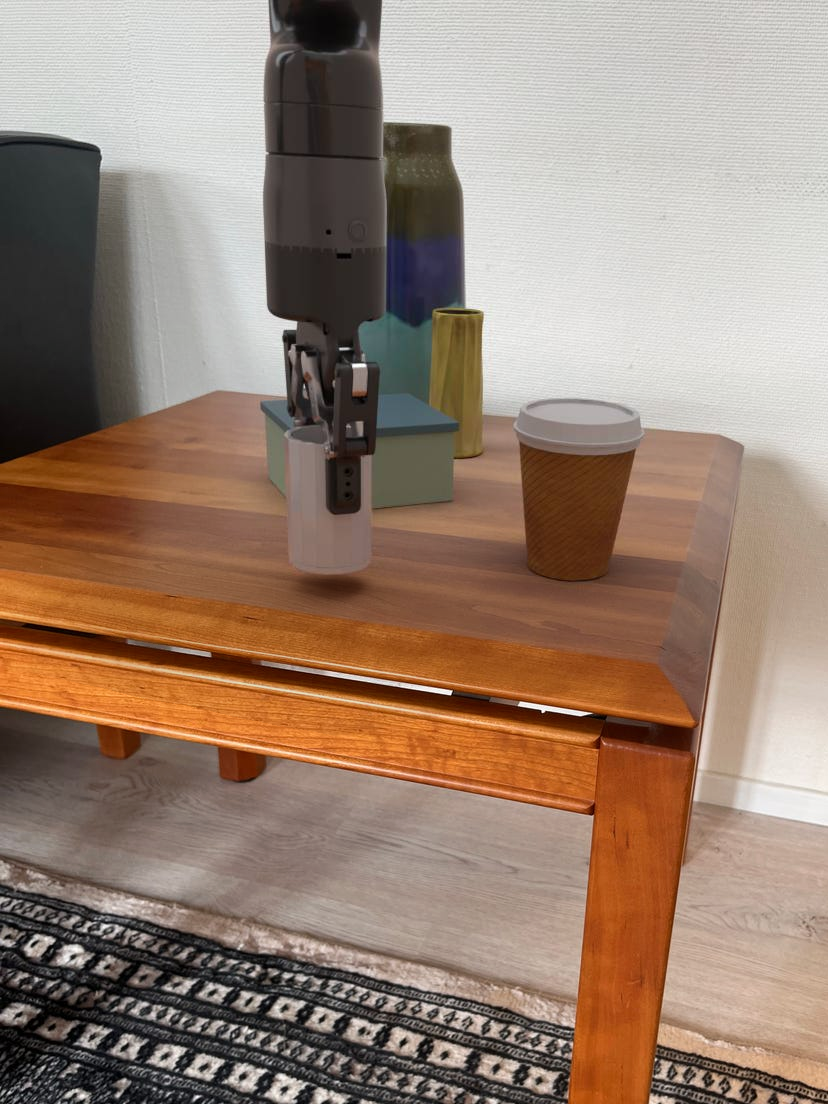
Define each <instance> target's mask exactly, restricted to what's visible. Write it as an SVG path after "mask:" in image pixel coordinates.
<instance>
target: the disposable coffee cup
mask: <svg viewBox="0 0 828 1104" xmlns="http://www.w3.org/2000/svg"><path fill="white" fill-rule="evenodd" d="M512 425H513V426H512V427H513V430H514V432H515V437H516V439H517V441H518V445H519V446H518V447H519V460H520V473H521V476H520V477H521V488H522V493H521V494H522V506H523V508H522V509H523V520H524V533H525V534H524V535H525V549H526V560H527V561H526V564H527V567H528V568H529V569H530V570H531V571H533V572H534V573H536V574H539V575H541V576H544V577H546V578H550V579H554V580H563V581H585V580H593V579H597V578H600V577H602V576H605V574H607V573H608V572H609V569H610V564H611V559H612V556H613V552H614V549H615V542H616V540H617V534H618V532H619V531H618V530H619V525H620V522H621V517H622V513H623V508H624V503H625V500H626V496H627V495H626V494H627V490H628V485H629V482H630V477H631V473H632V469H633V465H634V460H635V456H636V455H635V454H636V451H637V448H638V447H639V446H640V444H641V440H642V439H644V437H645V433H646V432H645V429H644V428H643V427H642V422H641V414H640V413H639V411H638V410H637V409H635V408H634V407H631V406H629V405H626V404H623V403H619V402H613V401H607V400H604V399H603V400H602V399H593V398H583V397H552V398H551V397H550V398H543V399H541V398H540V399H534V400H530V401H527V402H525V403H523V404H522V405H521V407H520V410H519V412H518V416H517V419H516V420H515V421H514V422H513V424H512Z"/></svg>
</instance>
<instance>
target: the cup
mask: <svg viewBox="0 0 828 1104" xmlns="http://www.w3.org/2000/svg"><path fill="white" fill-rule="evenodd" d="M346 437H352V432H351V426H346ZM284 439H285V470H286V497H285V499H286V500H285V501H286V524H287V525H286V526H287V527H286V529H287V530H286V531H287V552H288V553H287V554H288V561H289V564H290V565H291V566H292V567H293V568H295V569H297V570H299V571H302V572H306V573H310V574H315V575H343V574H345V575H346V574H350V573H355V572H358V571H361V570H363V569H365V568H367V567H369V566H370V565H371V563H372V560H373V559H372V556H373V555H372V554H373V509H372V461H373V455H365V457H361V508H360V510H359V511H358V512H357V513H352V514H341V515H333V514H332V513H330V511H329V510H328V509H327V508H326V473H325V458H326V455H325V453H324V441H323V434H322V428H321V426H320V425H306V426H300V427H295V428H293V429H290V430H288V431H286V433H285V435H284Z"/></svg>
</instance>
